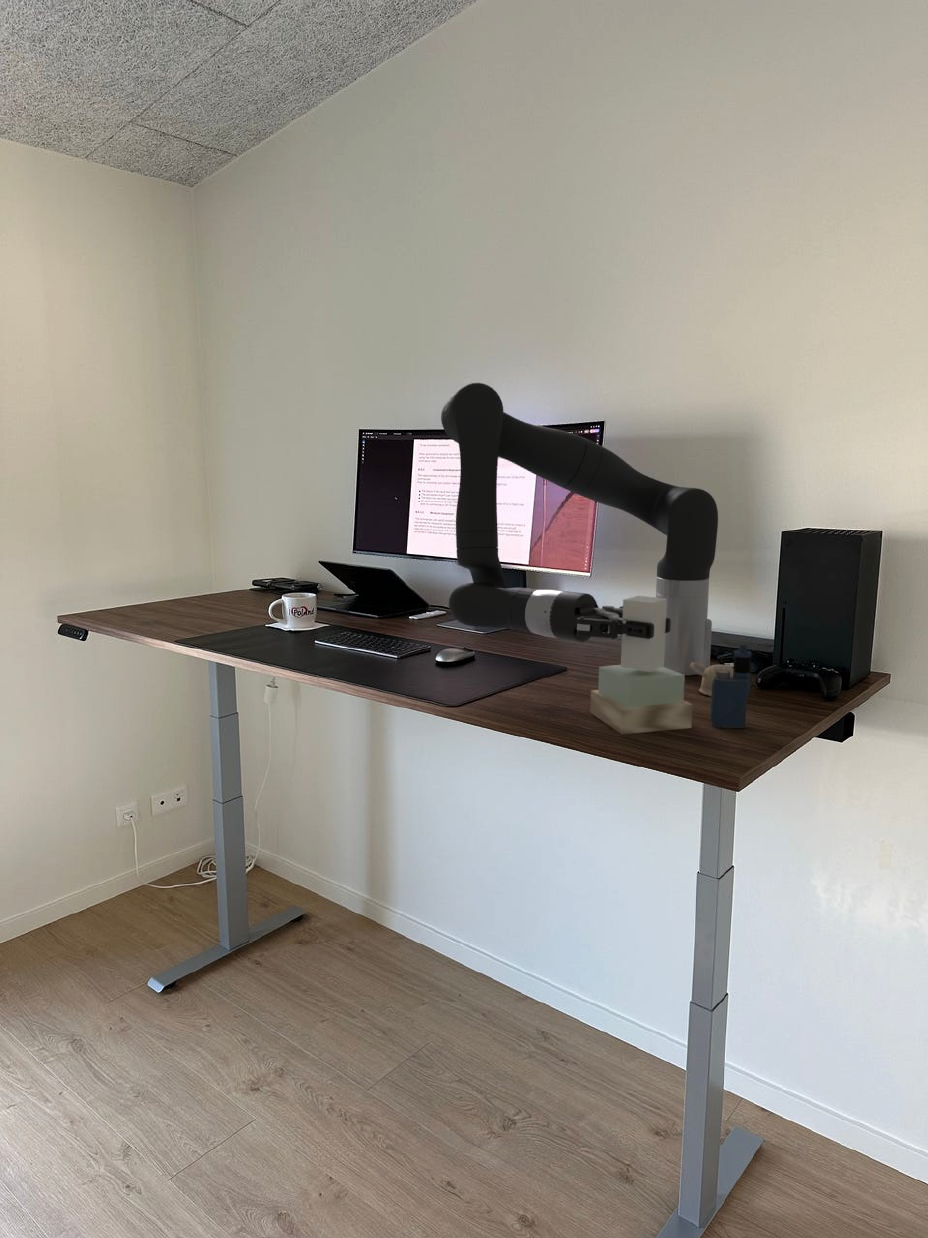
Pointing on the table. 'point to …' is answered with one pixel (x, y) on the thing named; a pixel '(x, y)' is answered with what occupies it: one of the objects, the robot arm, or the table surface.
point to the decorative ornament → (709, 676)
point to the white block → (643, 650)
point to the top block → (641, 686)
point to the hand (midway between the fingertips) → (660, 628)
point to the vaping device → (731, 692)
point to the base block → (641, 715)
